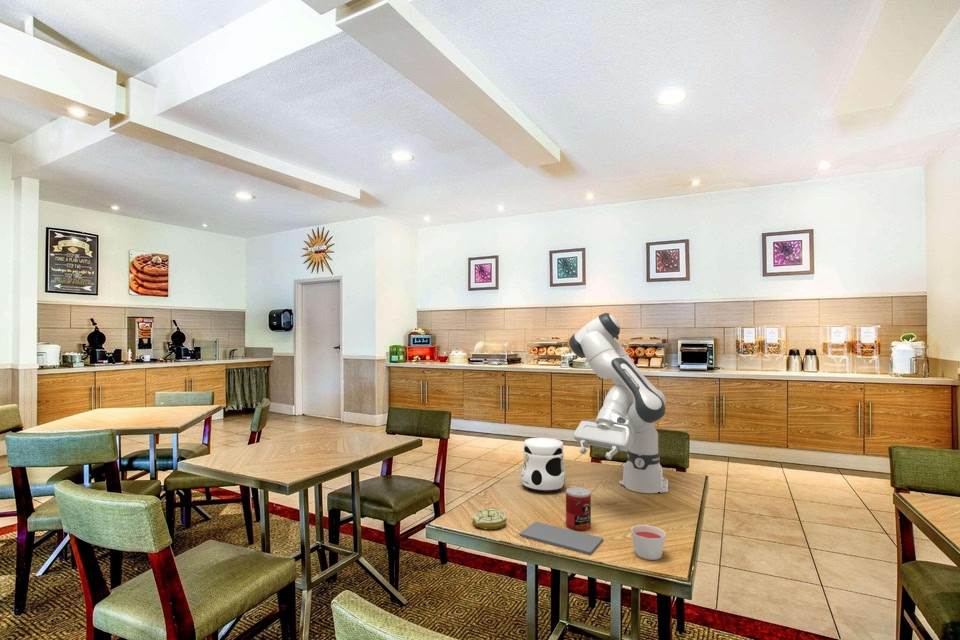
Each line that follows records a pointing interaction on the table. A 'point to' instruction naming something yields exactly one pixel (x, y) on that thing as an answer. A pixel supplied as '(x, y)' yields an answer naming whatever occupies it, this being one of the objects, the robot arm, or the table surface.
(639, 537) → the candle
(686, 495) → the table surface
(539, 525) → the mat
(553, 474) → the milk container
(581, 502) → the canned food
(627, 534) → the table surface
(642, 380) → the robot arm
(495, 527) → the decorated donut
